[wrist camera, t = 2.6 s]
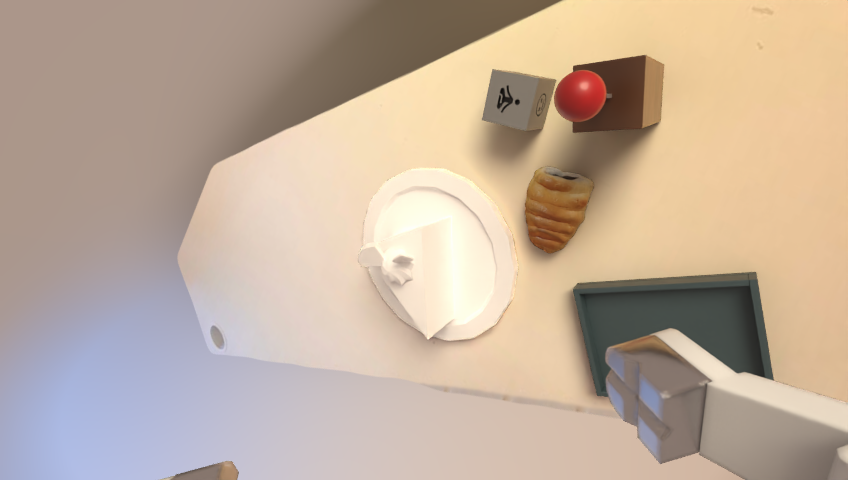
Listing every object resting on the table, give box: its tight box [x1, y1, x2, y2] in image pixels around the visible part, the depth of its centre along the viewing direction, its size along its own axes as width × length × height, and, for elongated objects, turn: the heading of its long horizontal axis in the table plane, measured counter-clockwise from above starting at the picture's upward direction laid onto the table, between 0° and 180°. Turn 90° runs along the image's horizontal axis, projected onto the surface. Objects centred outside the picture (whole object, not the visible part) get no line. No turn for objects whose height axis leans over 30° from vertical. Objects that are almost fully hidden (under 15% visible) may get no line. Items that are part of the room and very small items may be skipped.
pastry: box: [525, 166, 594, 253], centre depth 45 cm, size 9×7×4 cm
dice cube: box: [482, 69, 556, 131], centre depth 43 cm, size 5×5×5 cm
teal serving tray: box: [573, 272, 774, 397], centre depth 43 cm, size 16×13×2 cm
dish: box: [358, 168, 519, 341], centre depth 54 cm, size 25×25×11 cm
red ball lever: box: [554, 55, 664, 133], centre depth 32 cm, size 5×5×20 cm
